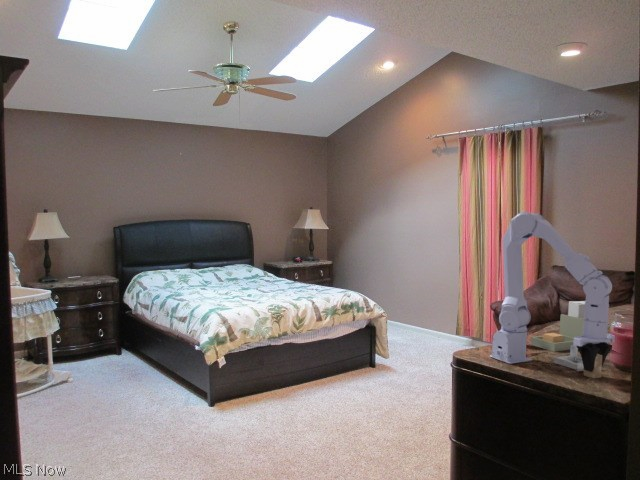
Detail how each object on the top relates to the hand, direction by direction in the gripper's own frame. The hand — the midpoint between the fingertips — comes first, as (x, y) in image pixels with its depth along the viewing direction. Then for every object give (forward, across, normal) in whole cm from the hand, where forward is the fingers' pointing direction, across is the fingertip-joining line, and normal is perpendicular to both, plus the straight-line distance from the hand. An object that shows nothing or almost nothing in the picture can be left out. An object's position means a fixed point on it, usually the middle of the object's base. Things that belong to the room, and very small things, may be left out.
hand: (592, 370), depth 134 cm
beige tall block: (+2, 0, 0) cm, 2 cm away
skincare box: (+2, +31, +25) cm, 40 cm away
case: (+2, +18, +25) cm, 31 cm away
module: (+1, +16, +25) cm, 30 cm away
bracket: (+2, +4, +8) cm, 9 cm away
